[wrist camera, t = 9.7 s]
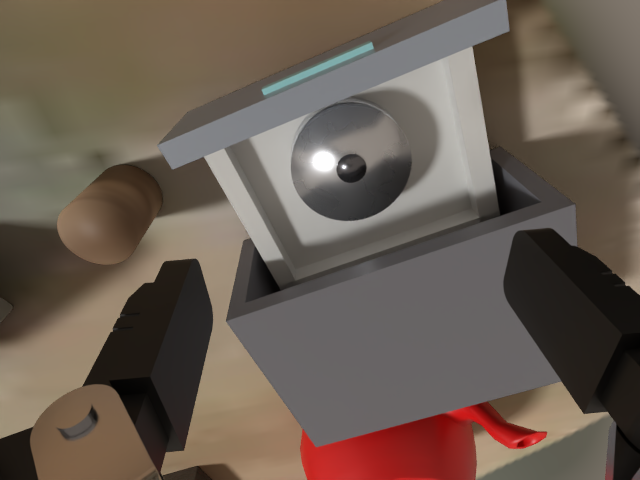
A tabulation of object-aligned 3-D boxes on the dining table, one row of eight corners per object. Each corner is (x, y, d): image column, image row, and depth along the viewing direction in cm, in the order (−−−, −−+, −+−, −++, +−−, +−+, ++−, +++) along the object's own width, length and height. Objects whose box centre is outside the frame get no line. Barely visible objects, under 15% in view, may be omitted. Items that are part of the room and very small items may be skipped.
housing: (243, 240, 28) (225, 321, 21) (500, 146, 25) (575, 204, 18) (312, 357, 34) (316, 447, 28) (522, 293, 32) (583, 375, 25)
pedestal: (83, 178, 25) (39, 216, 21) (138, 155, 24) (105, 189, 20) (123, 229, 27) (90, 273, 23) (174, 208, 26) (151, 250, 22)
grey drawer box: (185, 107, 22) (153, 140, 17) (454, -11, 19) (504, -11, 15) (283, 281, 28) (280, 339, 24) (492, 209, 26) (535, 257, 21)
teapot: (357, 483, 46) (374, 625, 36) (245, 438, 40) (227, 591, 30) (540, 365, 37) (635, 512, 26) (427, 284, 31) (491, 431, 21)
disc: (272, 124, 22) (270, 136, 20) (385, 77, 21) (393, 85, 19) (316, 219, 25) (317, 236, 23) (415, 182, 24) (424, 198, 22)
